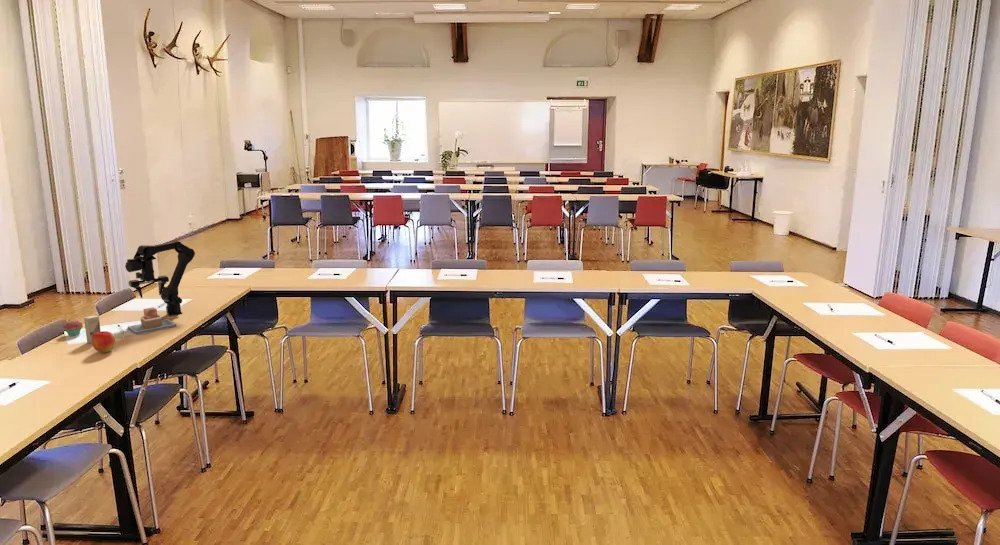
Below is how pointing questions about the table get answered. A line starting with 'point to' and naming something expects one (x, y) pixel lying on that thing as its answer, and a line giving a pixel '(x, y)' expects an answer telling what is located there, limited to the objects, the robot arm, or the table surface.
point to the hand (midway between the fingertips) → (150, 296)
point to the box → (91, 327)
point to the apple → (103, 341)
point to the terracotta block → (150, 313)
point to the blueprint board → (138, 328)
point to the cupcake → (72, 327)
